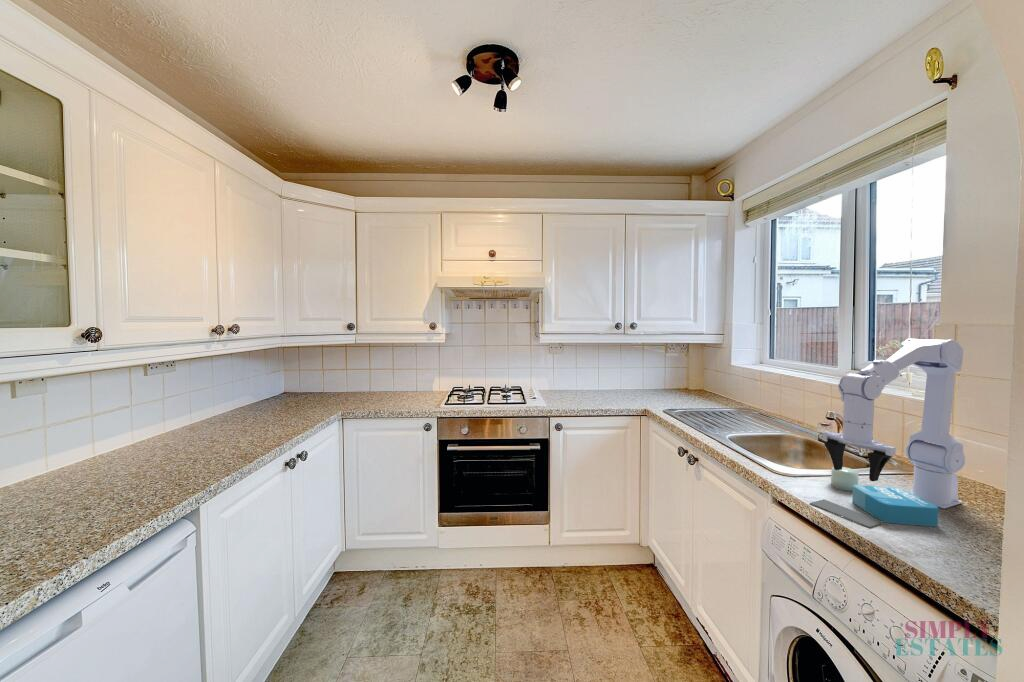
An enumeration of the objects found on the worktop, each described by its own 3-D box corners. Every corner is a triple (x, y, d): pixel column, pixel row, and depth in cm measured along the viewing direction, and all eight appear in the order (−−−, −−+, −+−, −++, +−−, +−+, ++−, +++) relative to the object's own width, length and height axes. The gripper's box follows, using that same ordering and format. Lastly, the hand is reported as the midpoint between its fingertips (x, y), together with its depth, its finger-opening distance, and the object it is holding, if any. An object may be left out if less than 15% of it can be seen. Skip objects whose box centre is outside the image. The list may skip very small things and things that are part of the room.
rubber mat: (824, 500, 105) (824, 499, 105) (884, 523, 93) (884, 522, 93) (809, 504, 103) (809, 502, 103) (869, 528, 91) (869, 526, 91)
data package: (850, 484, 105) (901, 487, 103) (849, 500, 105) (900, 504, 103) (884, 504, 93) (942, 508, 91) (883, 522, 94) (941, 527, 92)
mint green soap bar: (838, 481, 118) (838, 465, 118) (862, 489, 113) (863, 472, 113) (826, 484, 116) (827, 468, 116) (850, 492, 110) (851, 475, 110)
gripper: (816, 416, 104) (814, 466, 104) (884, 430, 90) (881, 488, 91) (832, 414, 106) (830, 463, 107) (901, 428, 93) (898, 483, 93)
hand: (855, 474), depth 99 cm, fingers open, 7 cm apart
